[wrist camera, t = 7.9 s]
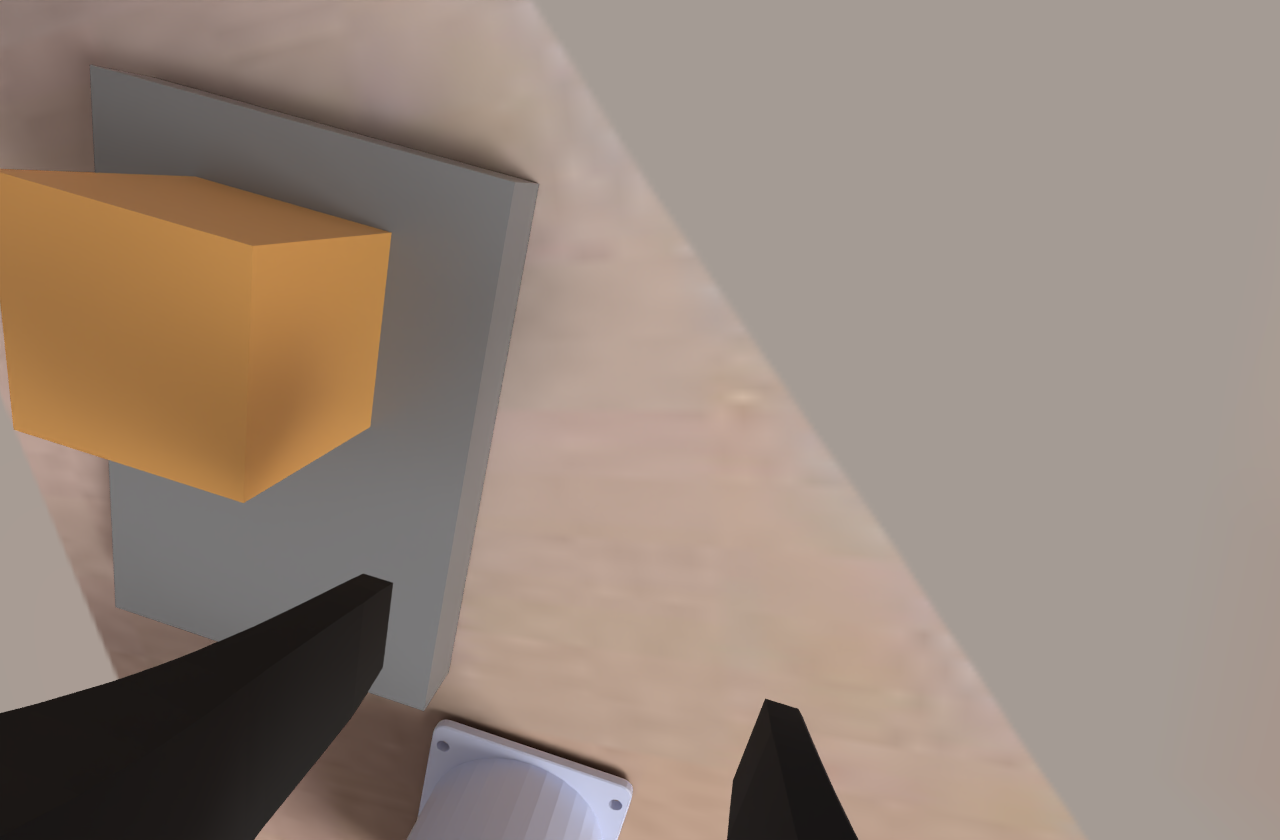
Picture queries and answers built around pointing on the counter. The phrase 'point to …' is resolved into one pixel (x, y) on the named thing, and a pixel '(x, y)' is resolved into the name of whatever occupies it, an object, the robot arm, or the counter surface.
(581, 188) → the counter surface
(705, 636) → the counter surface
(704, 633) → the counter surface
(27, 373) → the amber cube
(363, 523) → the flat grey tile
